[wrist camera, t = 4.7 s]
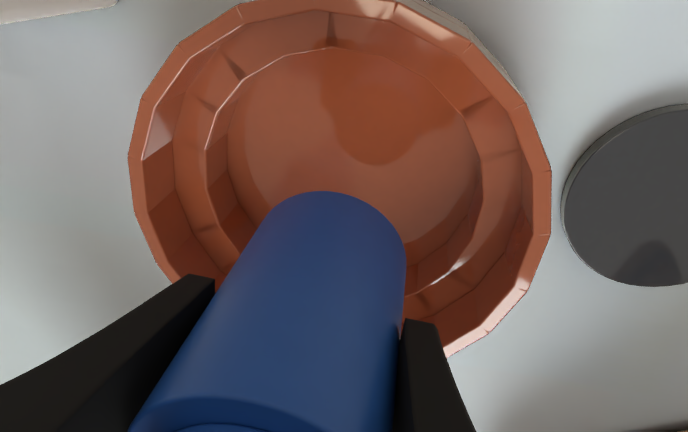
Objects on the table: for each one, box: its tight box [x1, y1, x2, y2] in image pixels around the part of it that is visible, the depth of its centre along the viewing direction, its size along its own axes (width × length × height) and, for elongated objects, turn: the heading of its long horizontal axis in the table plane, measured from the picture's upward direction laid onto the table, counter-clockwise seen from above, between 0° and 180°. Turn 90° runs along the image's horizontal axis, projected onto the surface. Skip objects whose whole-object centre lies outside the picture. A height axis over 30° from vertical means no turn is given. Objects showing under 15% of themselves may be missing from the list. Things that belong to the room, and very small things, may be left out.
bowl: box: [128, 0, 552, 358], centre depth 17 cm, size 13×13×4 cm
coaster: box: [561, 104, 688, 287], centre depth 17 cm, size 7×7×1 cm
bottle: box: [127, 191, 406, 432], centre depth 9 cm, size 4×4×10 cm
